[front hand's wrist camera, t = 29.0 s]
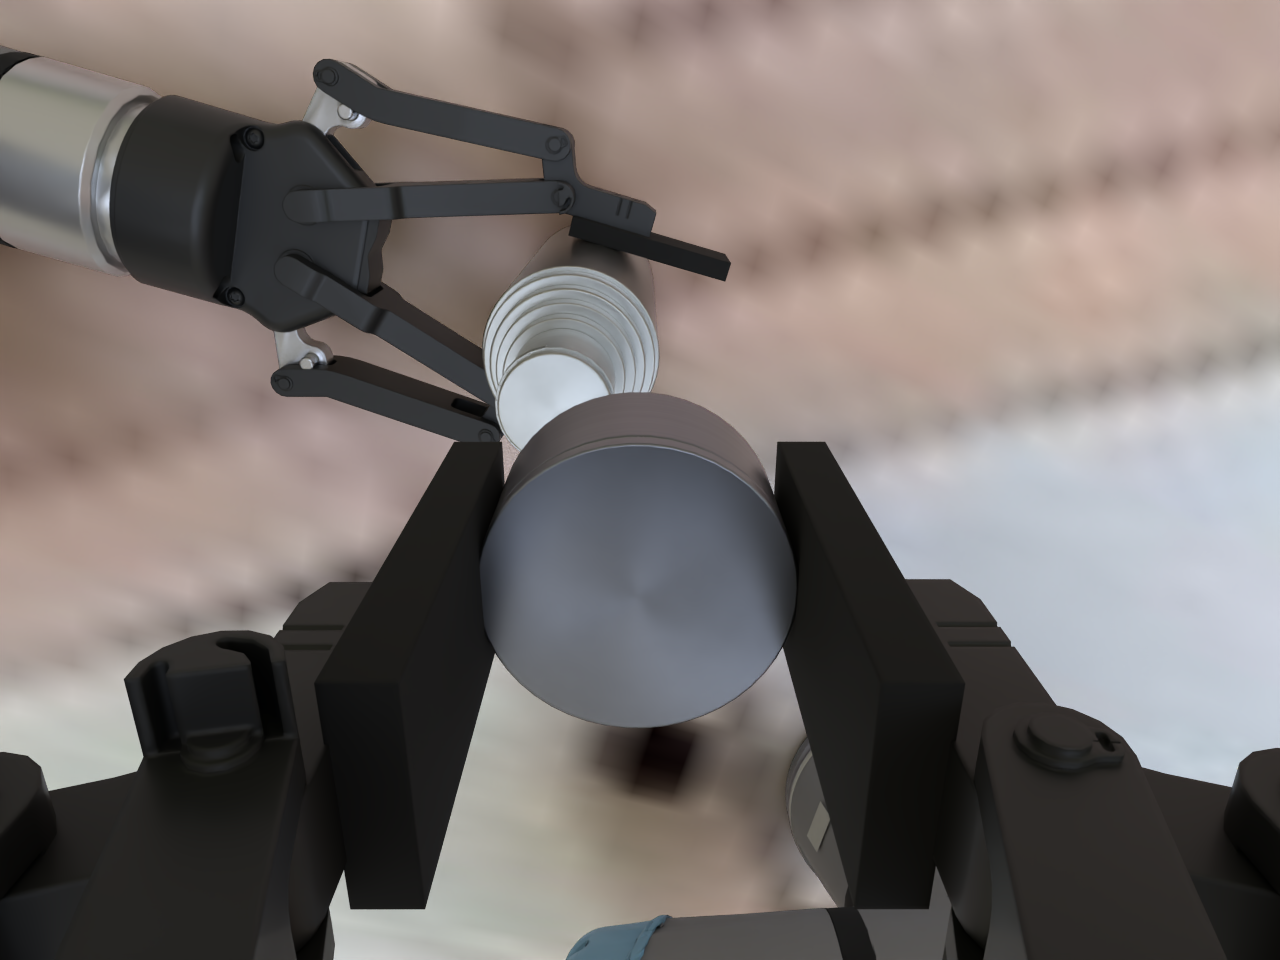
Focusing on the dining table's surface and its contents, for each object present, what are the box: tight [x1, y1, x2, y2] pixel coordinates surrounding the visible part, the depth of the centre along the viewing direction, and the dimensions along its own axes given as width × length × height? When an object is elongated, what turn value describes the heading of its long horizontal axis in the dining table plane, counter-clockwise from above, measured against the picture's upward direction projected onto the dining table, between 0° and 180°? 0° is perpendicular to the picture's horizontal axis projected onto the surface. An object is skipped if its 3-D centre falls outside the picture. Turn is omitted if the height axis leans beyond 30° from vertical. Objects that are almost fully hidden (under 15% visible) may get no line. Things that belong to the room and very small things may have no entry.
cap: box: [479, 392, 798, 728], centre depth 13 cm, size 4×4×2 cm
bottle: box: [482, 226, 659, 452], centre depth 34 cm, size 6×6×20 cm
